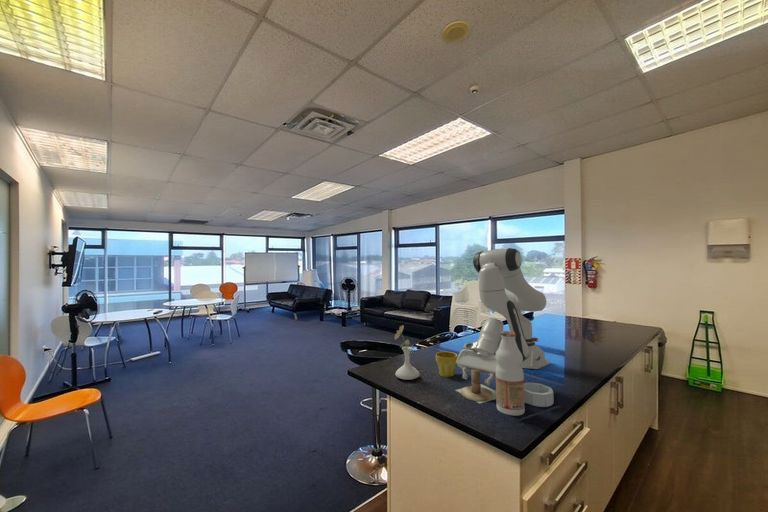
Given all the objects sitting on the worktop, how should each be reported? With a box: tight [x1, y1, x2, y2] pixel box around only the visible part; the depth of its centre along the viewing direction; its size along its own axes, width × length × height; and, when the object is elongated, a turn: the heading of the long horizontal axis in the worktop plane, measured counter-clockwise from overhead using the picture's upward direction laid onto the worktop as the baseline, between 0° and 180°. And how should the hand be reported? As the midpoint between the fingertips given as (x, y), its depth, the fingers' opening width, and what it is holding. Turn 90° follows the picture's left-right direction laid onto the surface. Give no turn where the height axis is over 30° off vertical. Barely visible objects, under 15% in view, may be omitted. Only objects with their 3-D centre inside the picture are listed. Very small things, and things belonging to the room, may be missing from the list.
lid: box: [460, 369, 492, 402], centre depth 122 cm, size 12×12×9 cm
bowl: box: [524, 382, 555, 408], centre depth 116 cm, size 11×11×5 cm
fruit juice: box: [495, 330, 526, 417], centre depth 110 cm, size 9×9×28 cm
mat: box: [455, 383, 496, 405], centre depth 123 cm, size 14×14×1 cm
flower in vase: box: [393, 324, 421, 381], centre depth 143 cm, size 13×11×25 cm
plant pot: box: [435, 351, 459, 378], centre depth 146 cm, size 10×10×10 cm
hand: (475, 381), depth 122 cm, fingers open, 8 cm apart
